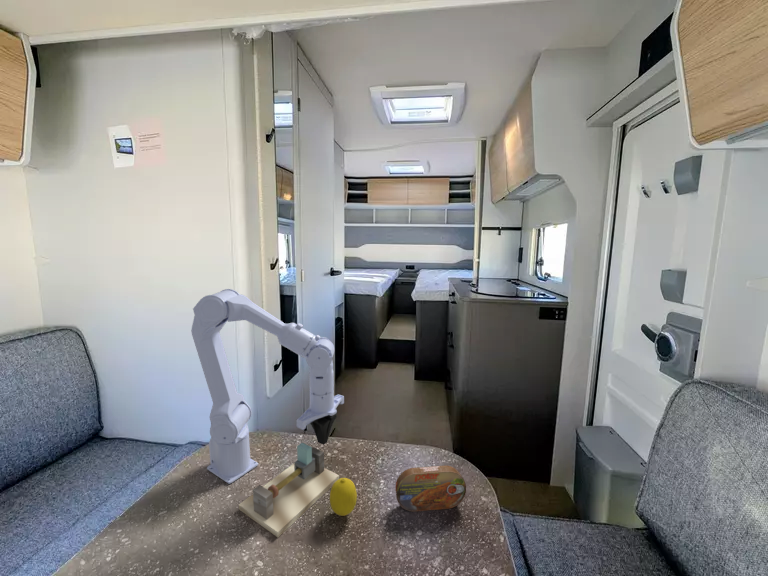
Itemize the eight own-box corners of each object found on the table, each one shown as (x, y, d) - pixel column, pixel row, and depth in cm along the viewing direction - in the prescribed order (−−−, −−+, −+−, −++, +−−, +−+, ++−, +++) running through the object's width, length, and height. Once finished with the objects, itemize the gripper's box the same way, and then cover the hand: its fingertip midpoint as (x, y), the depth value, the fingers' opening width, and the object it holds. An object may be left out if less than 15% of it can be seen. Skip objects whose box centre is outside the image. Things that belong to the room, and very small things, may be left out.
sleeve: (303, 479, 74) (303, 453, 73) (294, 474, 75) (293, 448, 74) (315, 470, 77) (314, 444, 76) (306, 465, 78) (305, 440, 77)
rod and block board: (278, 537, 62) (276, 509, 61) (239, 509, 69) (237, 483, 68) (339, 479, 77) (338, 456, 76) (302, 461, 84) (302, 439, 83)
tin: (395, 513, 68) (396, 476, 67) (394, 501, 71) (394, 466, 70) (465, 508, 70) (467, 472, 68) (461, 496, 73) (462, 462, 72)
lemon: (352, 527, 65) (352, 491, 63) (325, 522, 66) (325, 487, 64) (360, 505, 70) (360, 471, 69) (335, 501, 71) (335, 467, 70)
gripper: (312, 407, 70) (313, 464, 72) (353, 382, 82) (353, 432, 84) (289, 398, 74) (291, 453, 76) (332, 376, 86) (332, 424, 88)
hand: (322, 442), depth 80 cm, fingers closed
